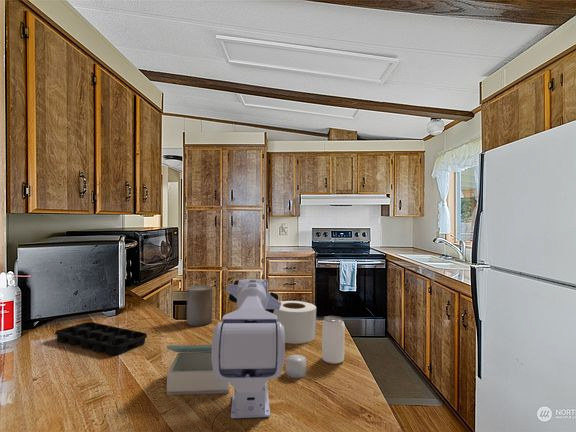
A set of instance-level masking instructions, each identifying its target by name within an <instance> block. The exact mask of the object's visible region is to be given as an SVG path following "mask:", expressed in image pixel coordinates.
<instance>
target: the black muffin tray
mask: <svg viewBox="0 0 576 432" xmlns="http://www.w3.org/2000/svg"><path fill="white" fill-rule="evenodd" d="M54 335H56V342H58V343H61V344H66V343H68V345H70V346H74V347H75V346H76V347H80V348H81V349H84V350H92V351H93V352H96V353H105V354H106V355H108V356H110V357H117V356H120V355H122V354H126V353H127V352H128V351H129V349H134V350H135V349H137V348H139V347H142V346H144V345H145V342H146V339H147V338H148V335H147V333H146V332H141V331H137V330H133V329H129V328H128V329H126V328H123V327H117V326H113V325H108V324H102V323H99V322H90V321H88V322H87V321H86V322H83V323H79V324H78V323H77V324H76V325H72V326H67V327H64V328H59V329H57V330H55V334H54Z"/></svg>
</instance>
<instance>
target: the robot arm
mask: <svg viewBox="0 0 576 432" xmlns="http://www.w3.org/2000/svg"><path fill="white" fill-rule="evenodd" d="M225 292H226V293H229V296H228V300H229V301H230V302H233V303H235V304H236V307H237V309H236V310H233V311H231V312H229V313H226V314H224V315H223V316H222V318H221V320H222V321H219V322H217V324H215V326H214V328H213V332H212V340H211V345H212V352H211V359H212V366H213V372H214V373H215V377H216V378H220V379H223V380H227V381H229V382H230V385H231V386H232V387H233V389H234V390H233V393H232V397H231V398H232V399H231V409H230V418H231V419H249V418H250V419H251V418H253V419H254V418H268V417H271V410H270V401H269V399H270V398H269V392H268V381H270V380H272V379H276V378H278V377H281V376H282V372H283V370H284V365H285V359H286V358H285V357H286V354H285V353H286V351H285V350H286V343H285V333H284V326H283V325H282V324H281V322H277V316H276V315H275V314H273V312H274V310H275V309H276V310H279V309H280V306H281V301H279V295H278V294H277V293H275V292H273V291H271V292H270V293H269V281H268V279H267V278H266V279H262V278H261V279H257V278H256V279H255V278H249V279H248V278H246V279H245V278H242V279H241V278H240V279H237V280H235V281H234V282H233V284H232V283H228V284H227V285H226V289H225Z"/></svg>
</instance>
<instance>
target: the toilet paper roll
mask: <svg viewBox="0 0 576 432" xmlns="http://www.w3.org/2000/svg"><path fill="white" fill-rule="evenodd" d="M280 302H281V306H280V309H279V310H276V309H275V310H274V312H273V314H275V315H276V316H277V322H281V324H282V325H283V326H284V333H285V344H296V345H297V344H306V343H310V342H312V341H313V340H315V338H316V337H317V336H316V333H317V306H316V305H315V304H313V303H311V302H306V301H301V300H282V301H280Z"/></svg>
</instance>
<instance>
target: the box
mask: <svg viewBox="0 0 576 432" xmlns="http://www.w3.org/2000/svg"><path fill="white" fill-rule="evenodd" d="M230 385H231V383H230V382H229V381H227V380H223V379H220V378H216V377H215V373H214V372H213V366H212V359H211V352H177V354H176V357H175V358H174V360H173V362H172V364H171V365H170V367H169V369H168V370H167V373H166V396H177V395H178V396H181V395H182V396H185V395H187V396H188V395H209V394H210V395H211V394H212V395H213V394H230V387H231V386H230Z"/></svg>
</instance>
